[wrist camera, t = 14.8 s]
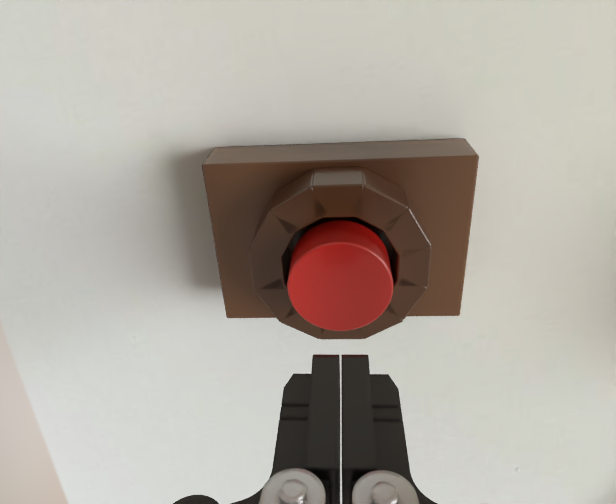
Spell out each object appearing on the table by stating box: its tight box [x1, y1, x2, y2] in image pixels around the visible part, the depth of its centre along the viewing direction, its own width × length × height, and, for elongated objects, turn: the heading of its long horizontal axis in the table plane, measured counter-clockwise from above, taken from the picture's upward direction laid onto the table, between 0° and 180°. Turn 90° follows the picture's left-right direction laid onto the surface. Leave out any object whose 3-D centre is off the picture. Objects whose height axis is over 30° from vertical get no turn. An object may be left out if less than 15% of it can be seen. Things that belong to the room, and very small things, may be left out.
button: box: [287, 220, 393, 331], centre depth 17 cm, size 4×4×2 cm
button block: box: [202, 139, 479, 339], centre depth 19 cm, size 10×7×4 cm
